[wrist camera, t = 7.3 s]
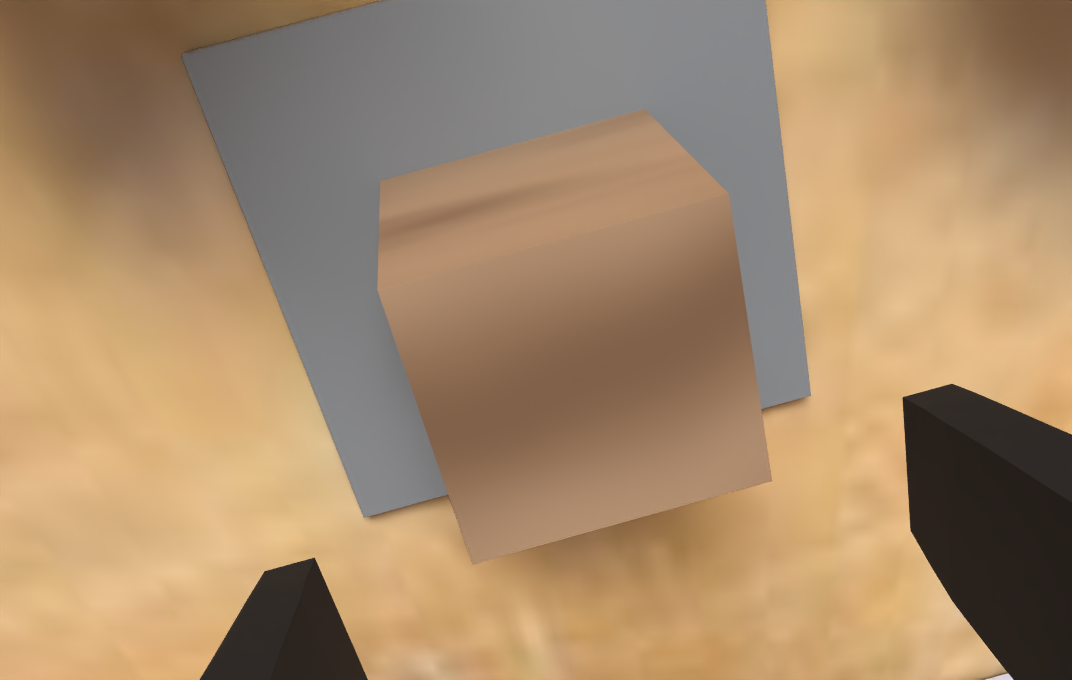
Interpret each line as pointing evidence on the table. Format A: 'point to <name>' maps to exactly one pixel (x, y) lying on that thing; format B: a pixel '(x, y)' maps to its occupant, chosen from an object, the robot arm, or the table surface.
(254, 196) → the mat
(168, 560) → the table surface
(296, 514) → the table surface
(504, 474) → the walnut cube
